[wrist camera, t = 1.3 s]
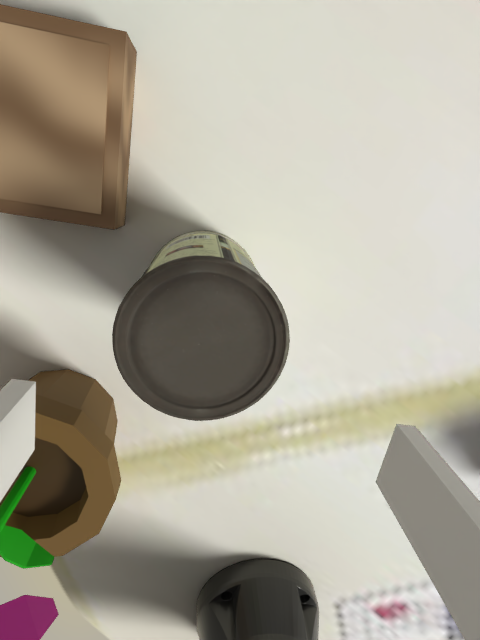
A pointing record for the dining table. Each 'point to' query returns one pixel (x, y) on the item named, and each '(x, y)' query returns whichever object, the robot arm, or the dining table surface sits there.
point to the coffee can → (201, 330)
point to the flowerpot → (58, 488)
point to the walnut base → (64, 118)
